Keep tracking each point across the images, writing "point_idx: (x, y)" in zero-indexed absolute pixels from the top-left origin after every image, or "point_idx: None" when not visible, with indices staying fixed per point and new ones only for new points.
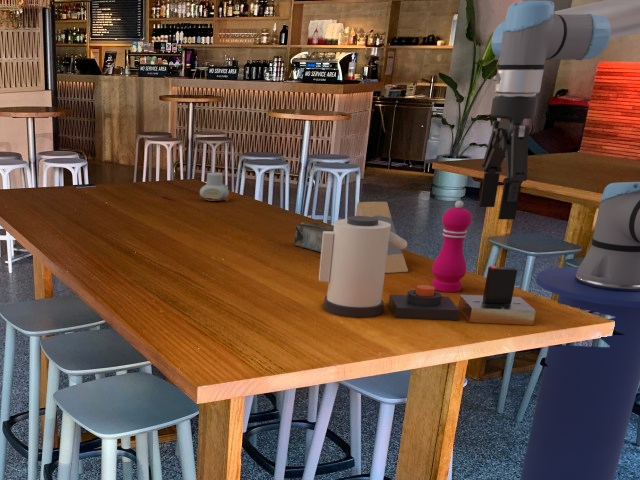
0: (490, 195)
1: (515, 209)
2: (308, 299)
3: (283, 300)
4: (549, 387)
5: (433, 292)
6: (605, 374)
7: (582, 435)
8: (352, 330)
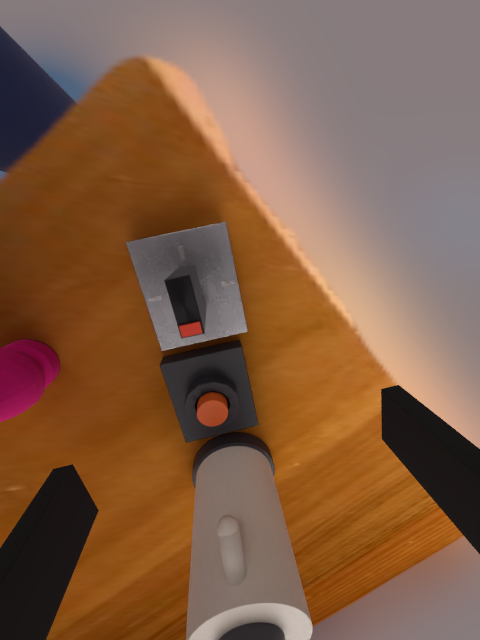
0: (49, 548)
1: (436, 418)
2: None
3: None
4: None
5: (218, 397)
6: (18, 69)
7: None
8: (325, 449)
